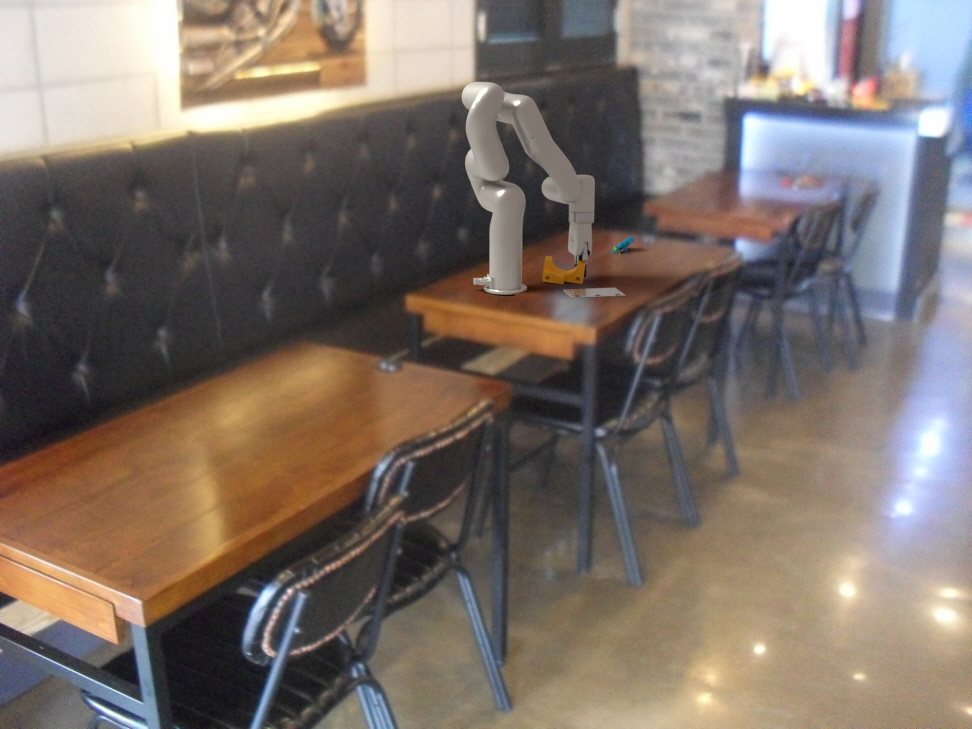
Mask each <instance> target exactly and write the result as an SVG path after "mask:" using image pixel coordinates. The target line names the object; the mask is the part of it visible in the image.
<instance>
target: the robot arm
mask: <svg viewBox="0 0 972 729" xmlns="http://www.w3.org/2000/svg"><path fill="white" fill-rule="evenodd" d="M461 102H462V104H463V105H464V107H465V108H466V110H468V113H467V117H466V122H465V133H466V138H467V140H468V143H469V147H470V149H469V150H468V152H467V154H466V156H465V161H464V162H465V163H464V165H465V171H466V174H467V177H468V179H469V181H470V185H471V188H472V189H473V192H474V194H475V196H476V199H477V201H478V203H479V205H480V206H481V207H482V208H483V209H484V210H486V211H488V212H491V213H492V215H491V220H490V224H489V273H487V274H486V276H484V277H473V285H479V286H483V289H484V291H485V292H486V293H488V294H493V295H507V296H508V295H514V294H519V293H522V292H523V293H524V292H526V291H527V290H528V286H527V285H525V284H524V283H522V281H523V278H522V277H523V225H524V215H525V210H526V205H527V203H526V196H525V193H524V191H523V189H521V187H520V186H518V185H517V184H515V183H512V182H509V181H505V180H504V179H505V177H507V175H508V174H509V171H510V163H509V159H508V156H507V155H506V152H505V149H504V146H503V144H502V141H501V138H500V136H499V132H498V130H497V121H498V122H501V123H504V124H507V125H508V124H509V125H512V128H513V129H514V131H515V133H516V136H517V137H518V139H519V141H520V143H521V145H522V147H523V151H524V152H525V154H526V155H527V156H528V158H530V159H531V160H532V161H533V162H535V163H536V164H537V165H539V166H540V167H541V168H542V169H543V170H544V172H546V173H547V174H548V176H547V177H546V178H545V179H544V180H543V182H542V184H541V193H542V194H543V196H544V197H545V198H546V199H548V200H550V201H553V202H557V203H561V204H564V205H565V204H566V205H568V223H569V230H568V245H567V250H568V252H569V253H570V254H571V255H573V256H574V268H575V267H576V266H577V265H578V263H579V261H585V270H584V279H585V278H587V263H588V257H590V256H591V255H592V253H593V252H592V250H593V232H592V231H593V230H592V228H593V227H592V224H593V223H594V222H595V195H596V194H595V193H596V192H595V190H596V189H595V188H596V187H595V186H596V184H595V182H596V181H595V177H594V176H592V175H589V174H577V173H576V170H575V168H574V167H573V165H572V163H571V162H570V160H569V159H568V157H567V156H566V155H565V154H564V152H563V150H562V149H561V148H560V147H559V146H558V144H557V143H556V142H555V141H554V140H553V138H552V135H551V133H550V130H548V127H547V125H546V123H545V121H544V119H543V117H542V114H541V111H540V110H539V108H538V106H537V103H536V102H535V100H534V99H533V98H532V97H530V96H528V95H524V94H516V93H510V92H506V91H504V90H503V88H502V87H501V86H500V85H499V84H497V83H495V82H490V81H473V82H469V83H468V84H467V85H466V86H464V88H463V90H462V92H461Z"/></svg>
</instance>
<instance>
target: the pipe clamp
mask: <svg viewBox="0 0 972 729" xmlns="http://www.w3.org/2000/svg"><path fill="white" fill-rule="evenodd" d="M543 262H544V263H543V269H542V270H543V271H542V278H541V282H544V283H549V284H558V285H564V283H571V284H578V285H583V283H584V279H585V278H584V270H585V261H579V263H578V265H577V266H576V267H575V266H574V268H572V269H569V270H568V269H567V270H566V269H563V268H562V269H561V268H560V267H558V266H557V265H556V264H555V263H554V260H553V256H550V255H545V258H544V261H543Z"/></svg>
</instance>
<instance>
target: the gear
mask: <svg viewBox="0 0 972 729" xmlns="http://www.w3.org/2000/svg"><path fill="white" fill-rule="evenodd" d="M634 240H635V236H632V235H630V236H629V237H628V238H627V237H626V238H625V239H623V241H620V242H619V243H618V245H616V246H615V245H614V246H613V247H612V249H613V250H611V251H609V253H610V254H613V253H615V254H616V255H620V256H621V253H628V249H627V248H630V246H631V244H632V243H634Z"/></svg>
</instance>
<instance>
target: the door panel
mask: <svg viewBox="0 0 972 729" xmlns="http://www.w3.org/2000/svg"><path fill="white" fill-rule="evenodd" d="M562 291H563V293H565V294H566V295H567V296H569V297H570V298H572V299H575V298H596V297H597V298H599V297H600V298H601V297H623V296H625V297H626V294H624V293H623V291H620V290H619V289H618V288H616V287H595V288H592V287H591V288H574V289H573V288H570V289H566V288H565V289H562Z"/></svg>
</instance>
